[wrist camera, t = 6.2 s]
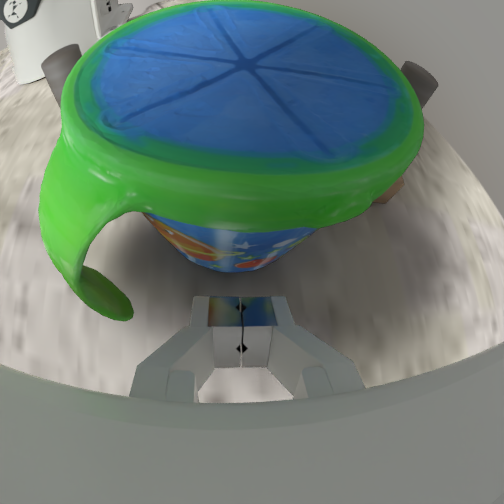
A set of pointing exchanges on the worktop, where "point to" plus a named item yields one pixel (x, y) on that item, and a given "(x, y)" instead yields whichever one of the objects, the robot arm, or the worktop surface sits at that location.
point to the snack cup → (222, 137)
